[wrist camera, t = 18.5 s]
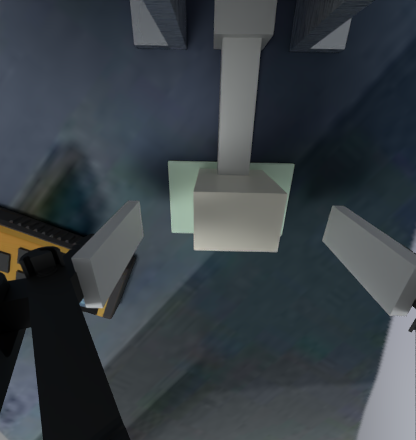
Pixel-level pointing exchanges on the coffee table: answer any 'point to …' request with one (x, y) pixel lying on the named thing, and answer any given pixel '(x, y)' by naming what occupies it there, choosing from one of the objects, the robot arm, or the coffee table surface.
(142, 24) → the gray arch bracket
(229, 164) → the light grey block hammer
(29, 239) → the electronic device
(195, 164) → the mat
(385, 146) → the coffee table surface
